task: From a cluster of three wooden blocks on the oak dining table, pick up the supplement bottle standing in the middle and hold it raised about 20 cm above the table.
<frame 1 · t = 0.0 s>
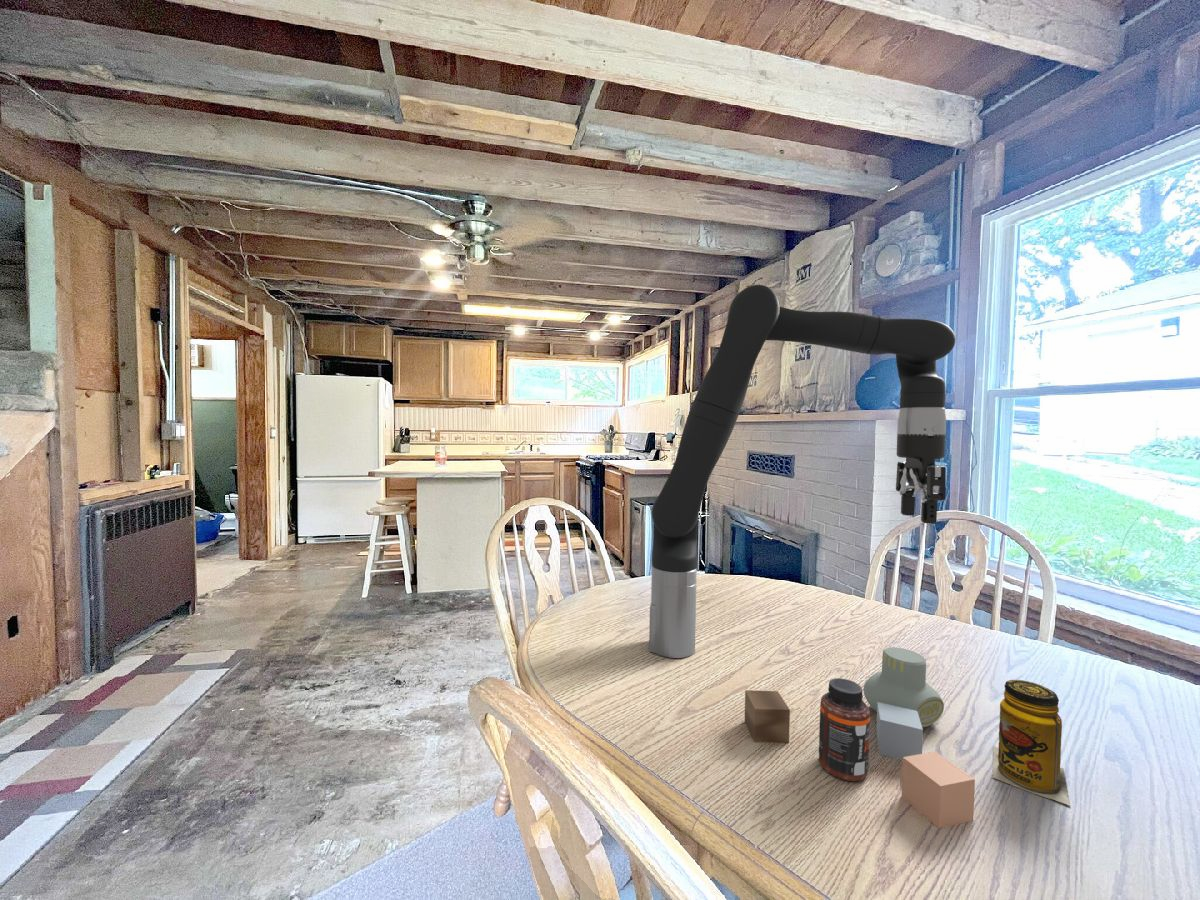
hand: (917, 519, 89), 29 cm above the table, fingers open, 8 cm apart
walnut block: (765, 732, 72), on the table
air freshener: (901, 717, 76), on the table
slate block: (897, 749, 68), on the table
terracotta block: (936, 808, 57), on the table
supplement bottle: (842, 769, 64), on the table
condiment: (1028, 776, 63), on the table
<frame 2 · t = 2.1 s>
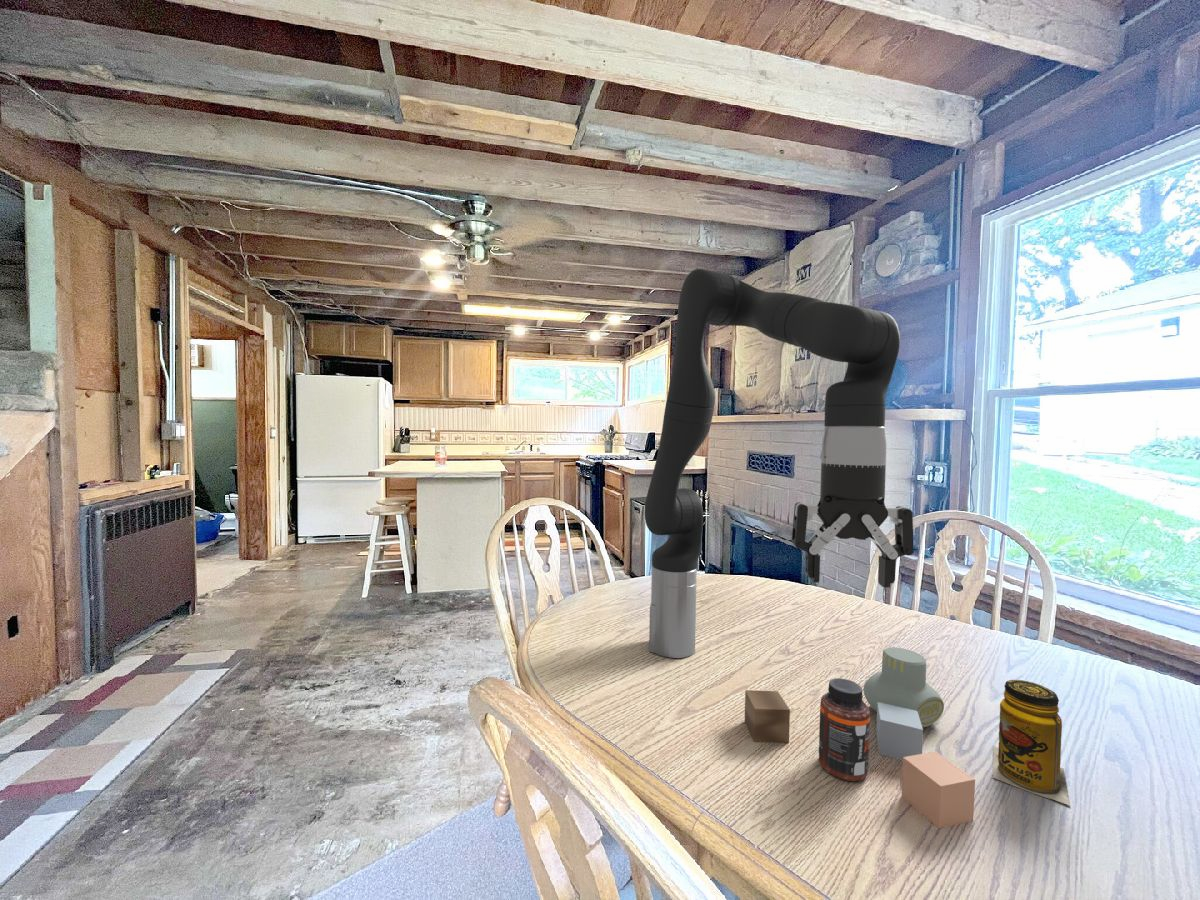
hand: (848, 583, 63), 25 cm above the table, fingers open, 8 cm apart
nothing on the table moved.
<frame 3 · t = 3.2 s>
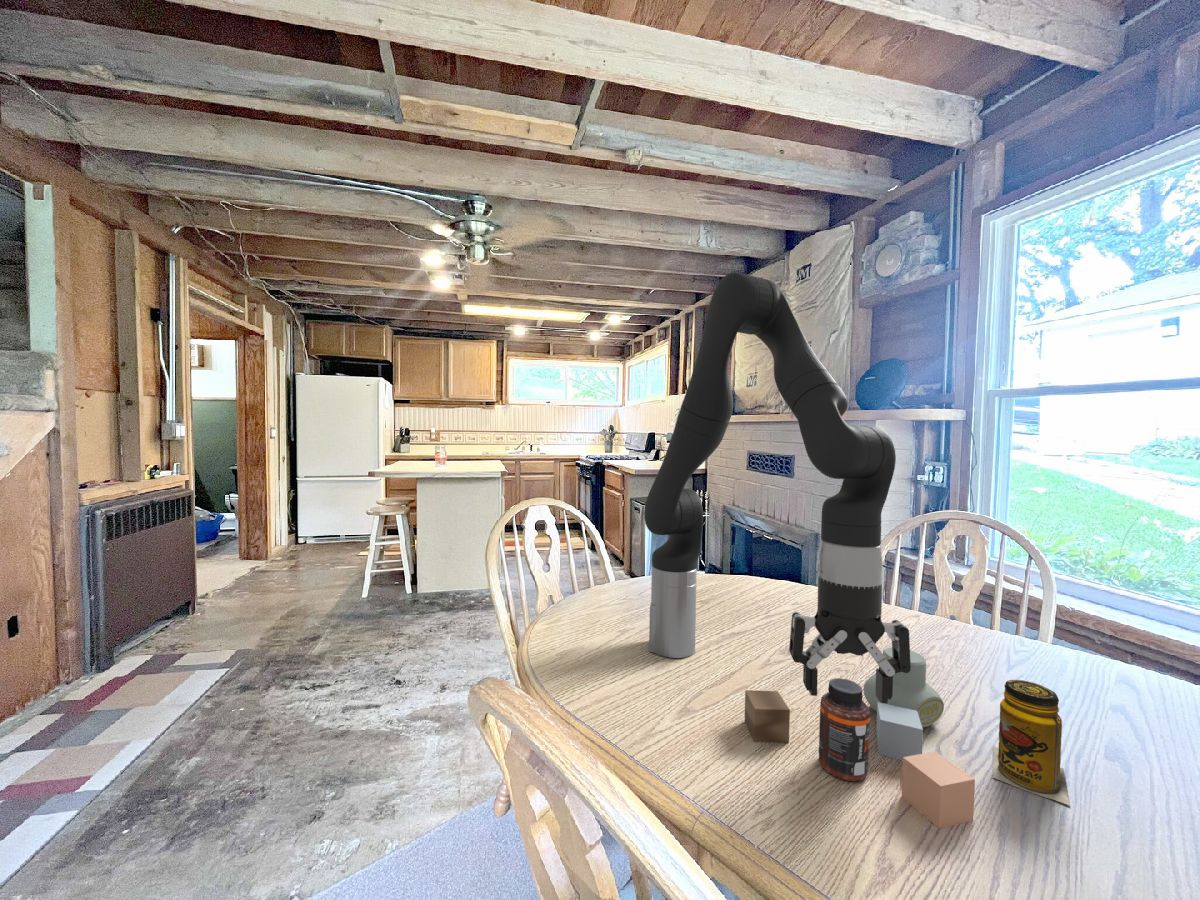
hand: (846, 696, 63), 10 cm above the table, fingers open, 8 cm apart
nothing on the table moved.
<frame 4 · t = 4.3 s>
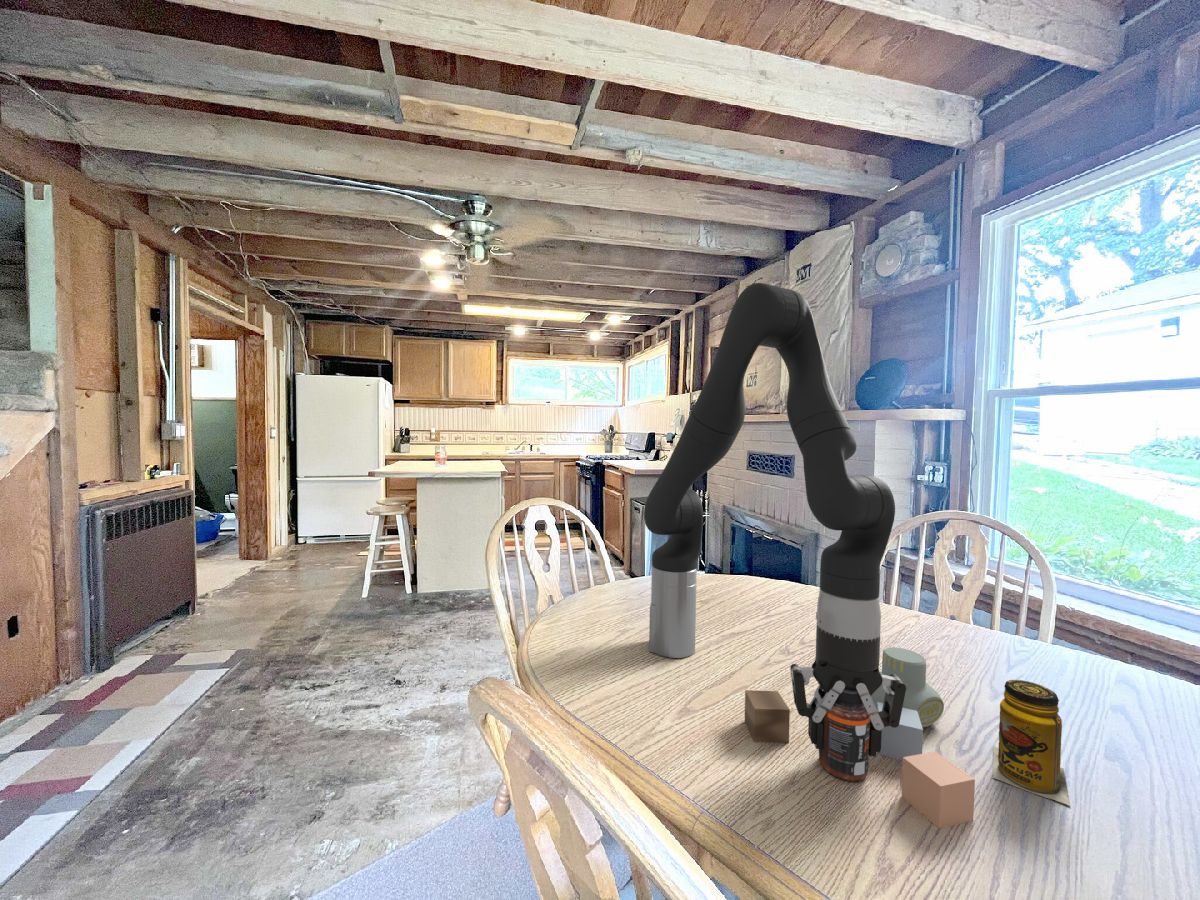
hand: (843, 748, 64), 3 cm above the table, fingers closed on supplement bottle, 6 cm apart
supplement bottle: (842, 769, 64), on the table, touching gripper
everything else where it was.
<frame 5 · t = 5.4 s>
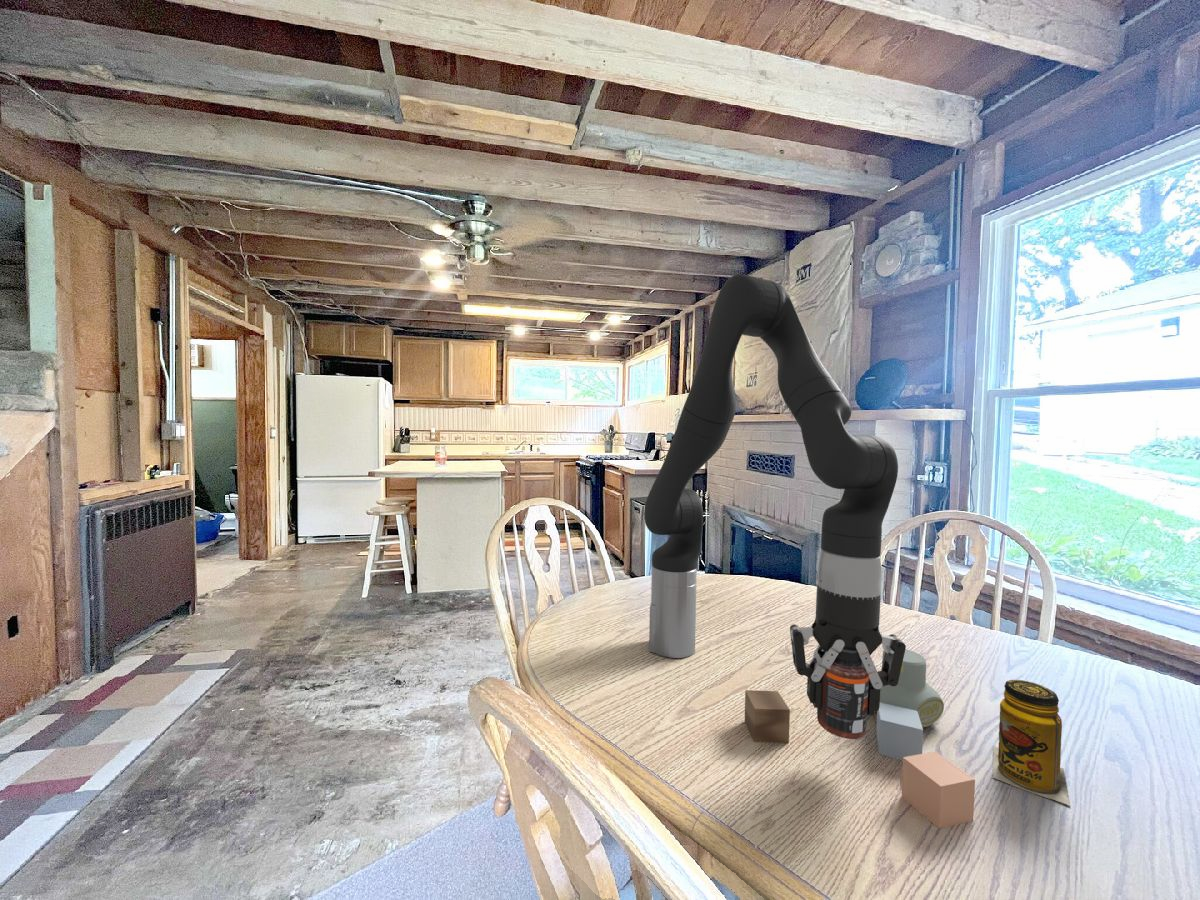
hand: (842, 707, 64), 8 cm above the table, fingers closed on supplement bottle, 6 cm apart
supplement bottle: (840, 728, 64), point 5 cm above the table, touching gripper
everything else where it was.
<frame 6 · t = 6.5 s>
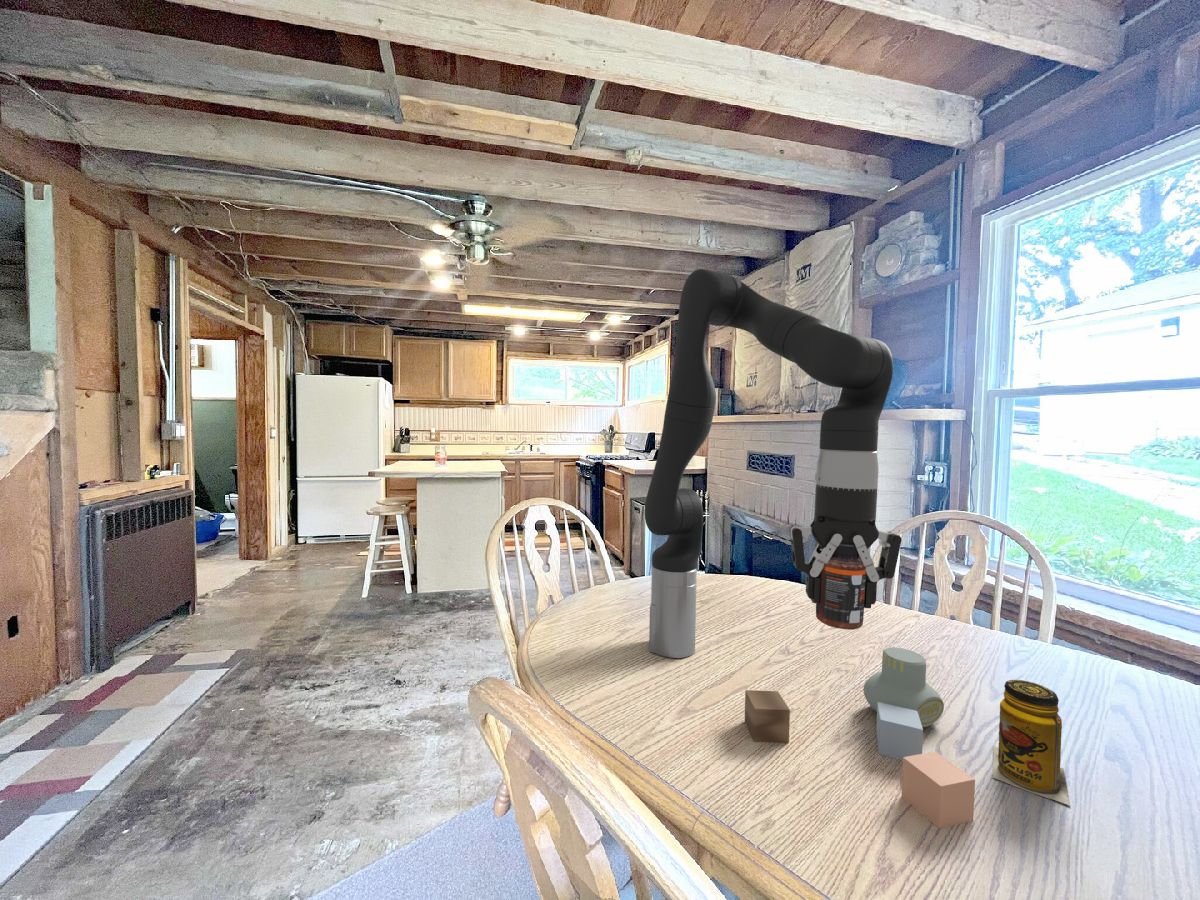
hand: (839, 603, 66), 21 cm above the table, fingers closed on supplement bottle, 6 cm apart
supplement bottle: (838, 623, 66), point 18 cm above the table, touching gripper
everything else where it was.
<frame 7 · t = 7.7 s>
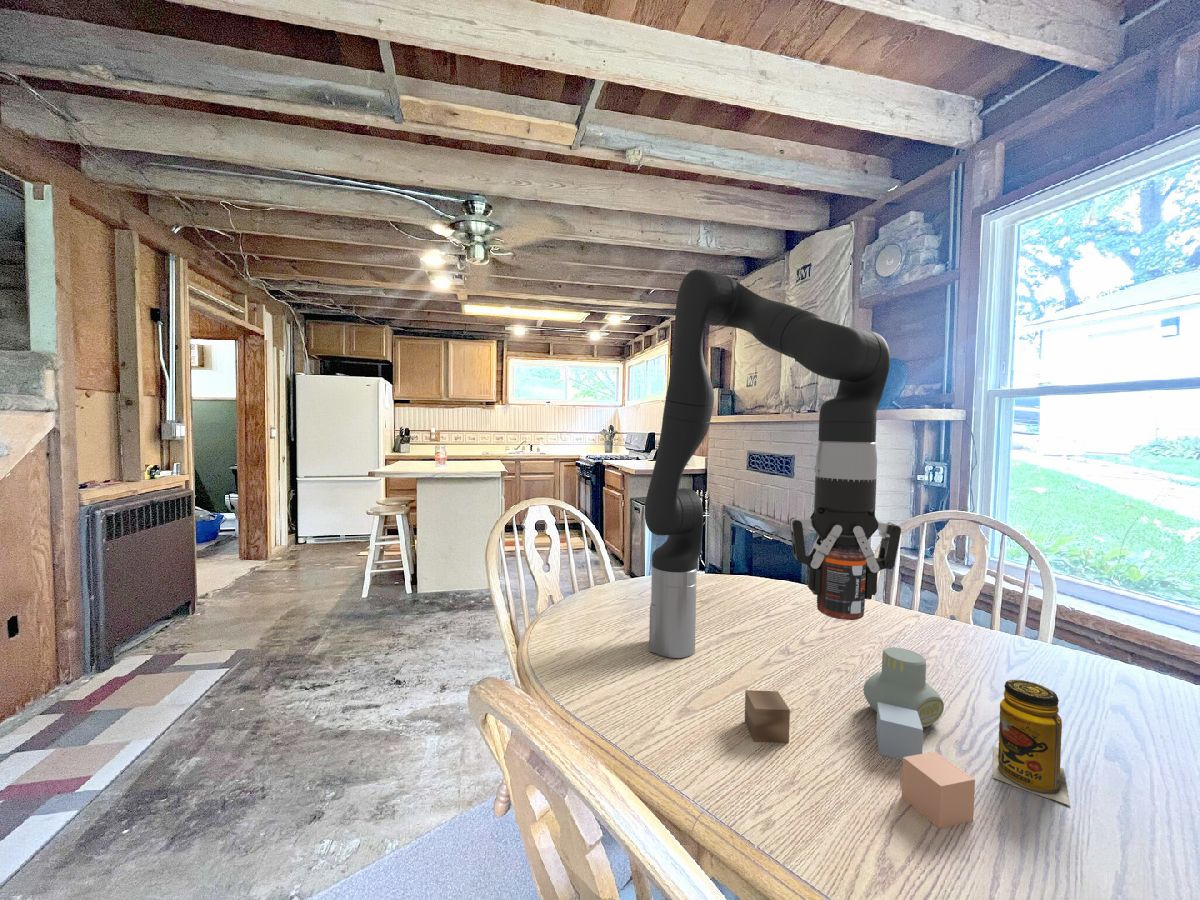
hand: (840, 594, 66), 22 cm above the table, fingers closed on supplement bottle, 6 cm apart
supplement bottle: (839, 615, 66), point 20 cm above the table, touching gripper
everything else where it was.
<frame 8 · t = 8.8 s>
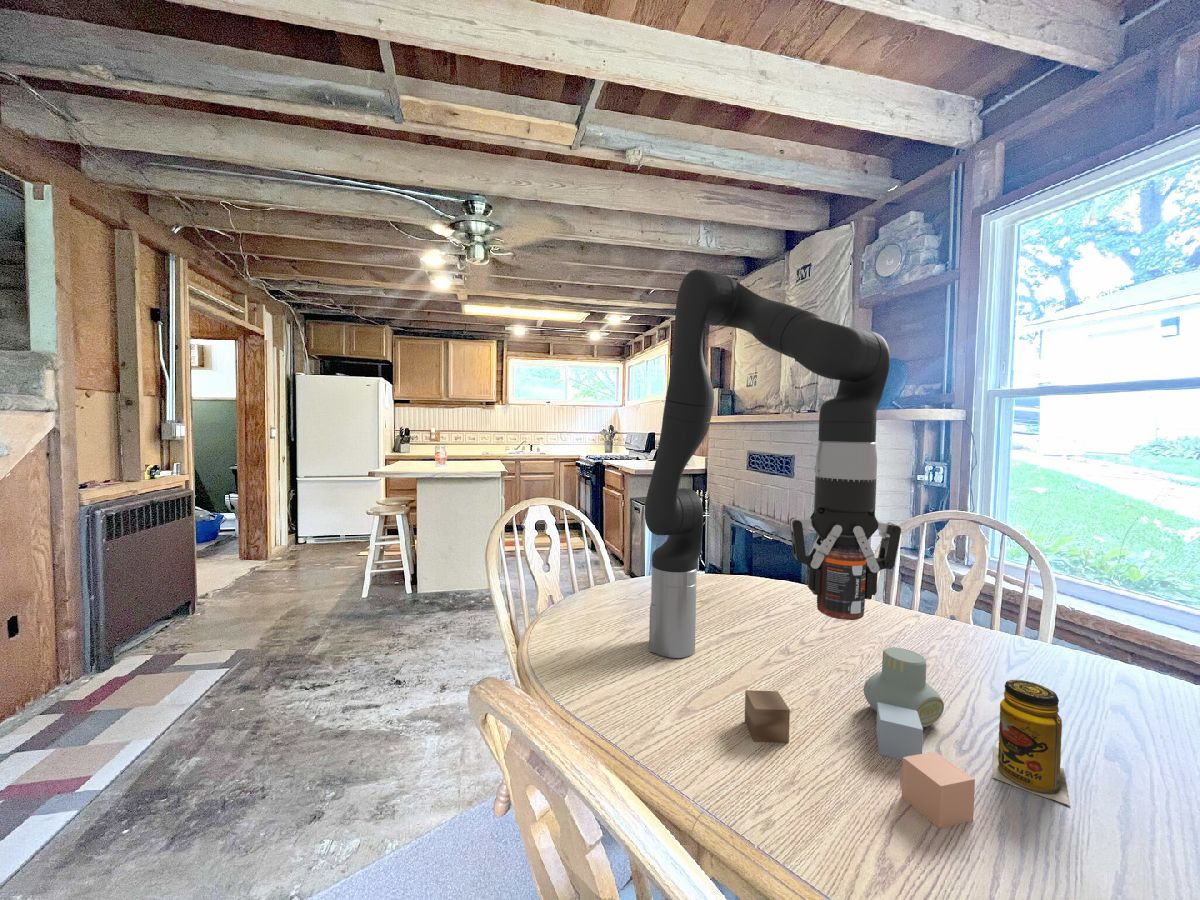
hand: (840, 594, 66), 22 cm above the table, fingers closed on supplement bottle, 6 cm apart
supplement bottle: (839, 615, 66), point 20 cm above the table, touching gripper
everything else where it was.
at the end: the gripper is holding supplement bottle; supplement bottle point 19.6 cm above the table; slate block moved 0.1 cm from its start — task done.
